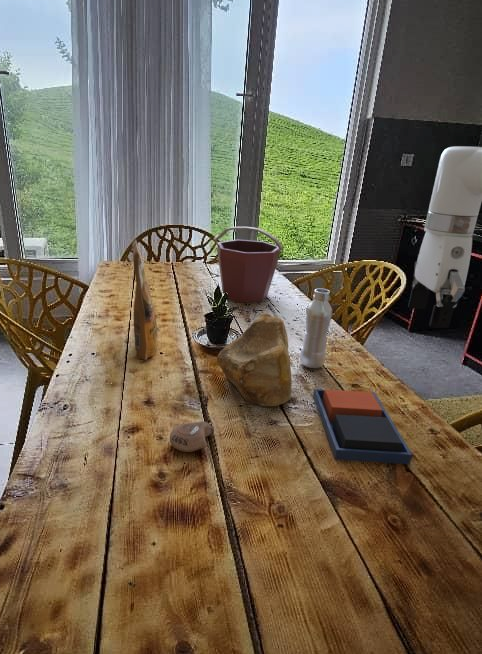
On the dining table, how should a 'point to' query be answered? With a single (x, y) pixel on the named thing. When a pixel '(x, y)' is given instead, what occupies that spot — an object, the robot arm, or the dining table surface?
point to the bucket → (247, 266)
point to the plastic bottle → (316, 330)
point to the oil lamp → (190, 436)
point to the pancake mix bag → (143, 311)
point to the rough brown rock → (260, 362)
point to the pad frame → (358, 454)
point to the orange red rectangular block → (350, 404)
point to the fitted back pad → (366, 433)
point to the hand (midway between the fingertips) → (426, 317)
